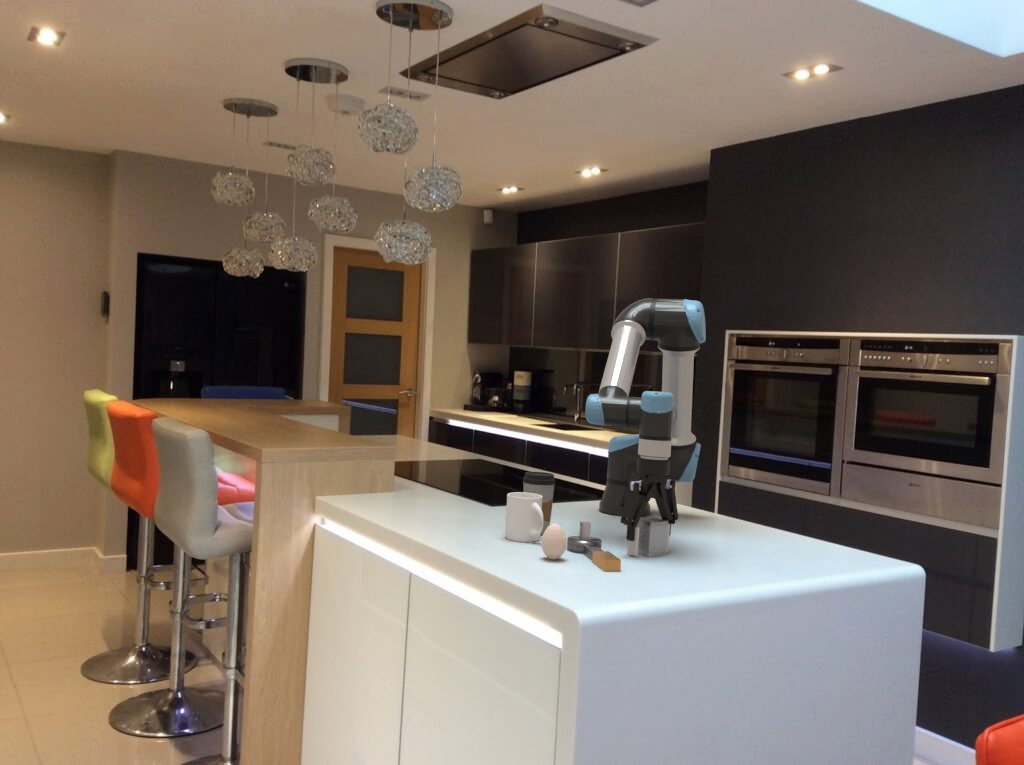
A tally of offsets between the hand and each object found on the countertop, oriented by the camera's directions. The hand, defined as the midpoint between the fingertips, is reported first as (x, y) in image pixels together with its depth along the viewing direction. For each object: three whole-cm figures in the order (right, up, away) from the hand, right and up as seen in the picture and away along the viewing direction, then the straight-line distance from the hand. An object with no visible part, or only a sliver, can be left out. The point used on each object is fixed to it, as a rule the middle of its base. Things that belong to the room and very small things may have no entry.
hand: (647, 552), depth 199 cm
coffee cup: (-26, +2, +17) cm, 31 cm away
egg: (-23, +1, -11) cm, 25 cm away
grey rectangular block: (0, 0, 0) cm, 0 cm away
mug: (-28, +1, +7) cm, 29 cm away
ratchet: (-13, 0, -8) cm, 15 cm away
